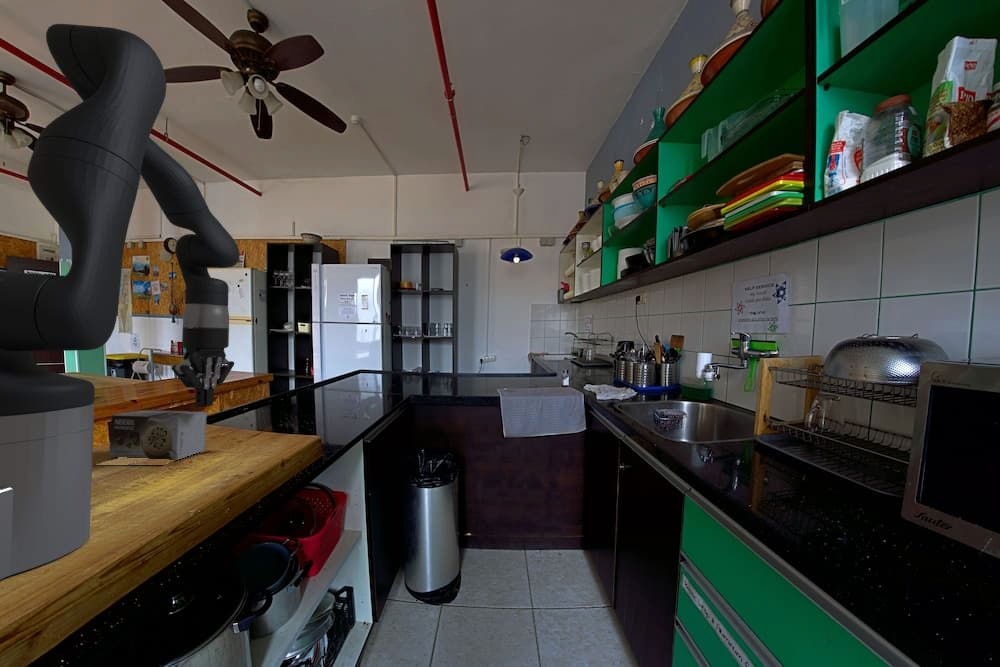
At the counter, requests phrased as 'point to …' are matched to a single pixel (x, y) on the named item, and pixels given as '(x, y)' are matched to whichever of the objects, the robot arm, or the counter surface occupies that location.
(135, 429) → the coffee box
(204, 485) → the counter surface
